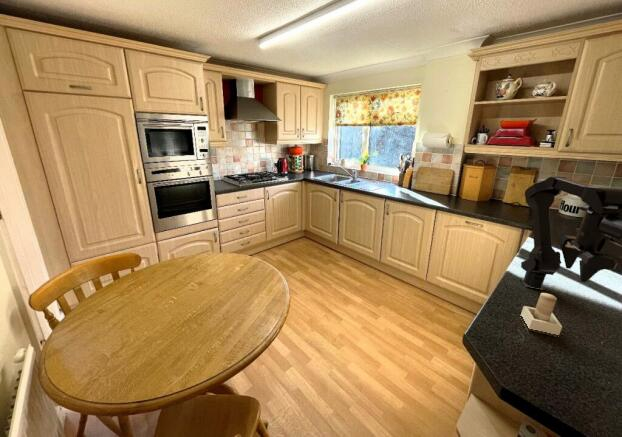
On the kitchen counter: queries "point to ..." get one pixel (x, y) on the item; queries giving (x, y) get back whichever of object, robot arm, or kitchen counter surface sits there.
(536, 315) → the wick dowel
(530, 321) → the cream square tray
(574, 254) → the robot arm
